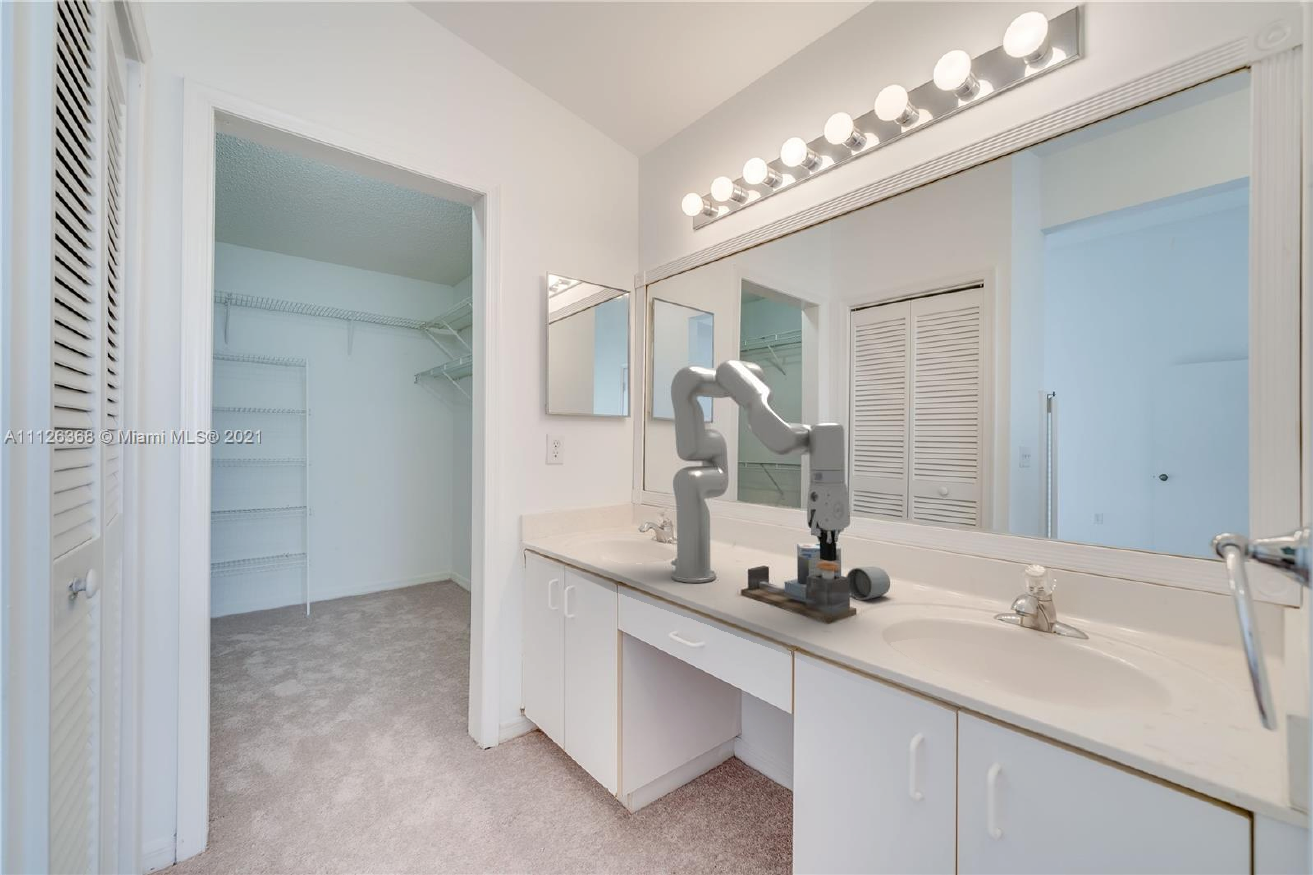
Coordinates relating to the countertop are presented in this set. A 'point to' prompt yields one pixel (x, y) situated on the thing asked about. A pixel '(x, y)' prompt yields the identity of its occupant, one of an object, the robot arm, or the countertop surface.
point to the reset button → (827, 569)
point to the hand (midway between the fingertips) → (828, 559)
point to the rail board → (822, 595)
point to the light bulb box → (817, 556)
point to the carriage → (799, 580)
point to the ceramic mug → (868, 582)
